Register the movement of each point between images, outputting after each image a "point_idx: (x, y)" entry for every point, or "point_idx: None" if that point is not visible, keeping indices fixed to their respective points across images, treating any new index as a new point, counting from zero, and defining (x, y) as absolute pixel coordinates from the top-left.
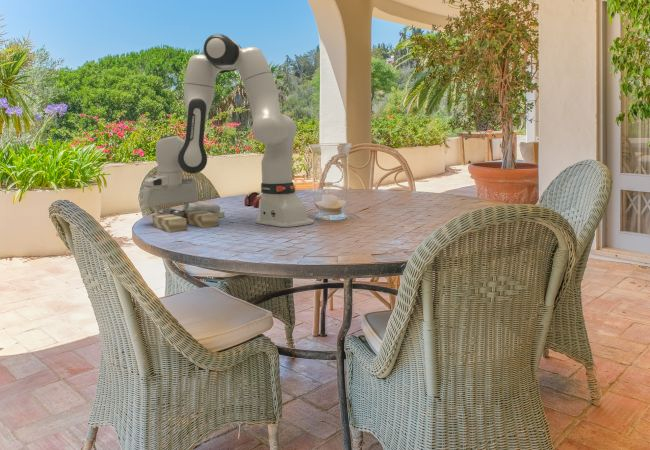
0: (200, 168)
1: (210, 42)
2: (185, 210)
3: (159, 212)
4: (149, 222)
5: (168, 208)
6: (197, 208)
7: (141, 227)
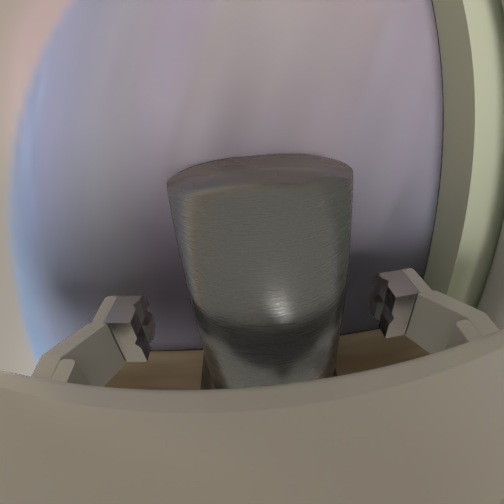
0: None
1: None
2: (410, 334)
3: (118, 369)
4: (70, 178)
5: (258, 276)
6: (498, 317)
7: (43, 340)
